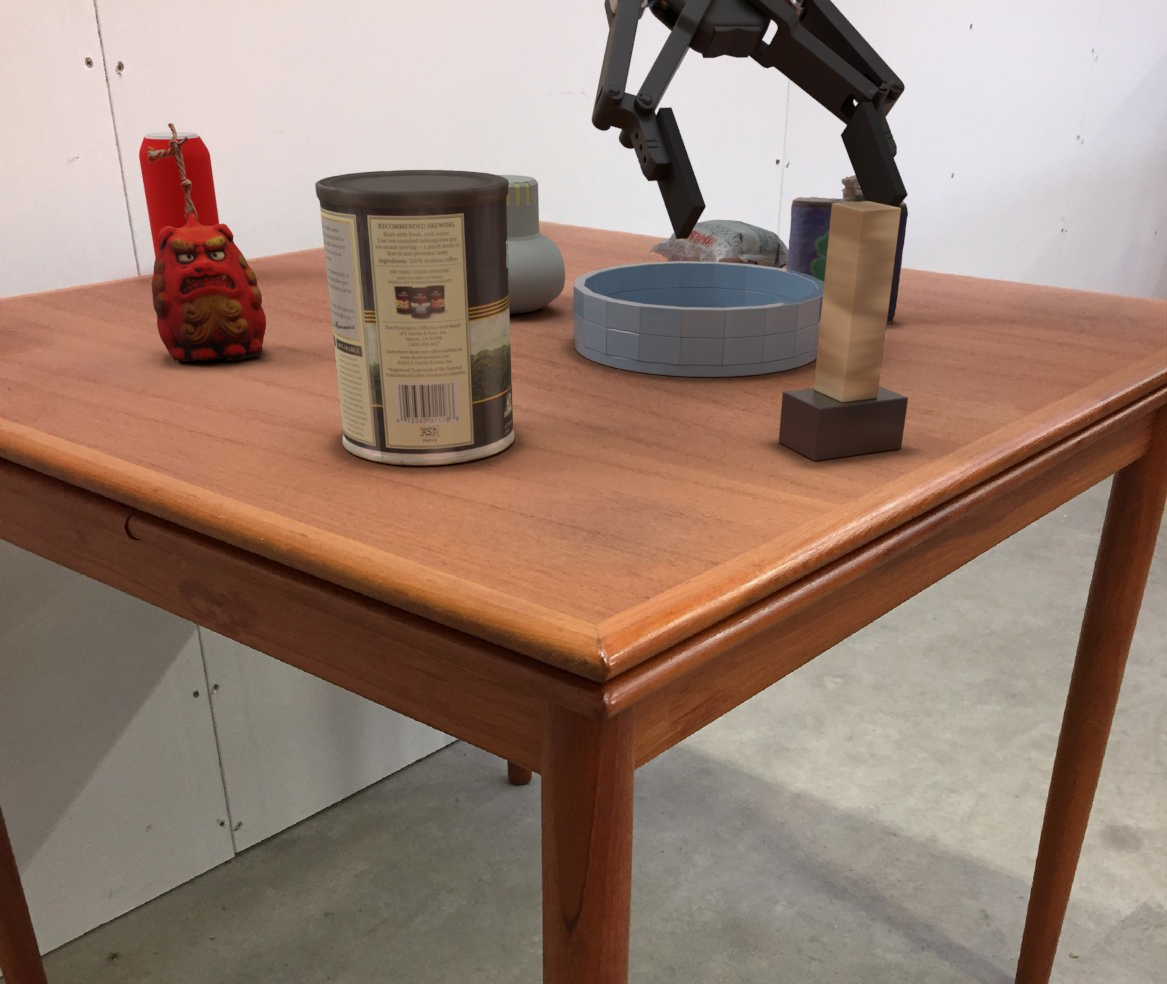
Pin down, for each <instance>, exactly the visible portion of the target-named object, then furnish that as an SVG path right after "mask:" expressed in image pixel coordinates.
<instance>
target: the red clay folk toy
mask: <svg viewBox="0 0 1167 984" xmlns="http://www.w3.org/2000/svg"><path fill="white" fill-rule="evenodd" d="M167 126H168V129H170V132H172V134H173V137H172V139H171V140H170V141H169V143H170V144H168V145H169V146H170V149H168V150H156V149H155V148H153V147H150V146H149V147H148V148H147V152H148V161H149V162H150V163H152V162H156V161H157V160H159V159H161V158H162V157H168V156H171V155H173V156H174V158H175V160H176V163H177V166H178V169H179V173H180V177H181V180H182V183H181V186H182V189H183V192H184V194H185V218H186V220H187V223H186V225H184V226H183V227H181V228H173V227H171V226H168V227H164V228H162V229H161V230H160V233H159V237H158V242H159V250H158V252H157V255H156V258H155V257H154V258H155V259H154V264H153V275H152V281H151V293H152V294H151V295H152V304H153V309H154V312H155V313H156V314H155V315H156V326H157V331H158V334H159V338H160V340H161V341H162V343H163V345H164V346H165V349H166V350H167V352H168V354H169V355H170V357H171V358H172V360H174V361H178V362H179V363H183V362H187V361H188V362H193V361H203V362H208V360H209V361H210V360H215V359H216V360H217V359H226V360H228V361H240V360H244V359H249V358H254V357H257V356H259V355H262V354H263V345H264V339H265V335H266V328H267V318H266V317H267V316H266V313H265V311H264V307H263V306H262V303H263V296H262V292H261V290H260V288H259V286H258V279H257V276H256V274H255V272H254V271H253V269H252V268H251V266H250V265H249V263H248V261H247V259H246V257H245V256H244V254H243V253H242V251H241V250H240V248H239V247H238V246H237V244H236V243H235V242H234V234H233V233H232V230H231V228H230V227H229V226H228V225H227V224H225V223H219V224H216V225H213V226H204V225H201V224H200V223H199V222H198V214H197V212H196V210H195V207H194V205H193V202H192V200H191V197H190V192H191V190H192V183H191V181H189V180H188V179H187V178H186V173H185V166H184V160H183V154H182V149H181V145H182V144H183V143H185V142H186V140H187V137H185V138H184V139H183V140H182V141H181V142H180V143H179V142H177V133H176V132H177V129H176V127H175V125H174V123H171V122H169V123H168V124H167Z"/></svg>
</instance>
